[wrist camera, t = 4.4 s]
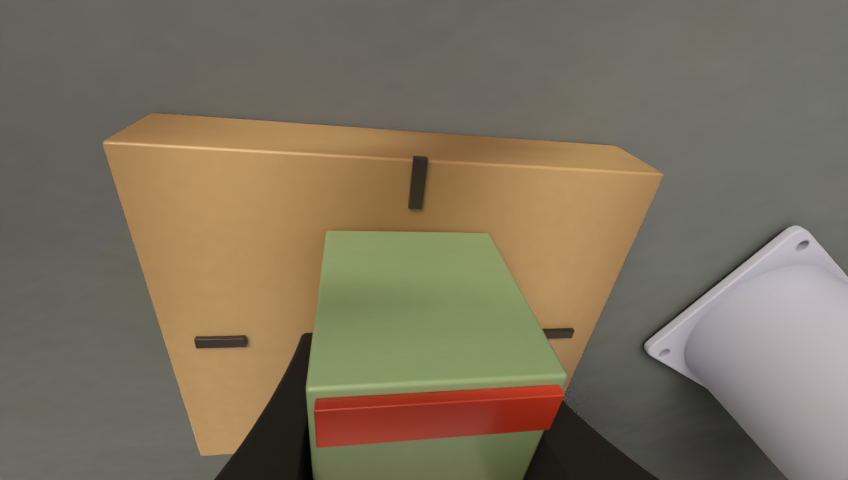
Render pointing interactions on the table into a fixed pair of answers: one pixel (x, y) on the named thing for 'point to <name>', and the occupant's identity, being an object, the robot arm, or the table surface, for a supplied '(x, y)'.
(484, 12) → the table surface
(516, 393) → the box
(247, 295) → the tan flat block
